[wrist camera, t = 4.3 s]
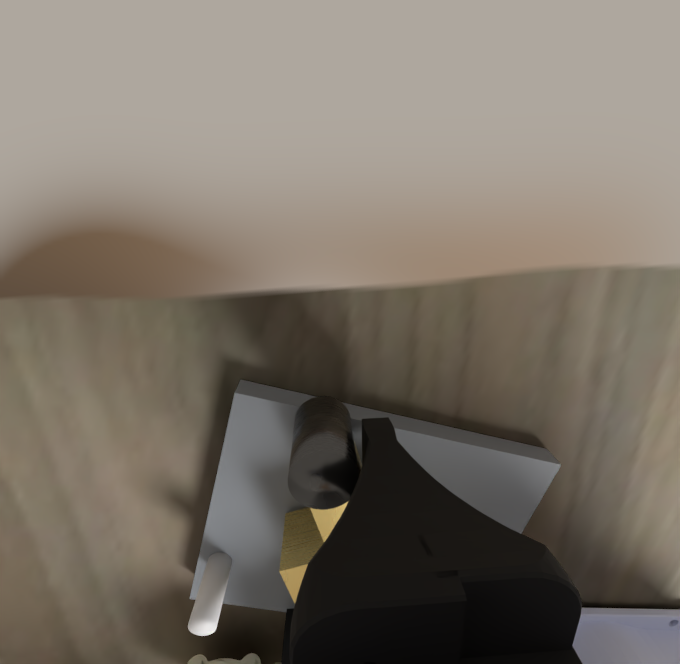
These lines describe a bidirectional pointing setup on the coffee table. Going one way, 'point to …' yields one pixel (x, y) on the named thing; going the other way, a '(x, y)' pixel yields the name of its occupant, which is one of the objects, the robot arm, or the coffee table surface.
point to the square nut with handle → (317, 482)
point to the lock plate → (275, 500)
